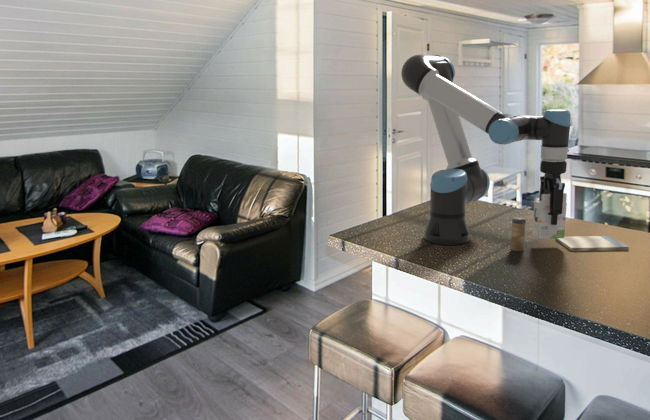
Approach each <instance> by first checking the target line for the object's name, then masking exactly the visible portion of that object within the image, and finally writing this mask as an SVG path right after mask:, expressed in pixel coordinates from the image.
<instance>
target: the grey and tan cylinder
mask: <svg viewBox="0 0 650 420" xmlns="http://www.w3.org/2000/svg"><path fill="white" fill-rule="evenodd" d="M511 221H512V222H511V234H510V247H509V248H510V250H511V251H514V252H522V251H524V249H525V236H526V235H525V234H526V221H527V219H526V218H524V217H512V220H511Z"/></svg>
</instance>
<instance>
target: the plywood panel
mask: <svg viewBox="0 0 650 420" xmlns="http://www.w3.org/2000/svg"><path fill="white" fill-rule="evenodd" d="M554 240H555V241H556V242H558V243H559V244H560V245H562V246H563V247H565V248H566V249H567V250H569V251H570V252H584V251H585V252H587V251H591V252H592V251H593V252H594V251H597V252H598V251H629V248H630V246H629V245H627V244H624V243H623V242H621V241H620V240H617V239H616V238H614V237H613V236H610V235H589V236H588V235H586V236H585V235H583V236H581V235H578V236H576V235H575V236H568V235H567V236H564V238H554Z"/></svg>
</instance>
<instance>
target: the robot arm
mask: <svg viewBox="0 0 650 420" xmlns="http://www.w3.org/2000/svg"><path fill="white" fill-rule="evenodd" d="M400 75H401V78H402V81H403V82H402V83H404V85H405V86H406V87H407V88H408V89H410V90H411V91H413V92H414V93H416V94H418V95H419V96H421V98H422V99H423V100H425V101H427V102H428V105H429V108H430V111H431V114H432V118H433V121H434V124H435V128H436V131H437V133H438V136H439V140H440V142H441V147H442V149H443V152H444V155H445V159H446V162H447V165H446V168H445V169H440V170H437V171H435V172H434V173H433V174H432V175H431V177H430V178H431V179H430V181H431V182H430V185H429V186H430V205H429V219H428V221H427V223H426V227H425V230H424V234H423V238H424V240H425V241H427V242H429V243H431V244H435V245H442V246H458V245H463V244H466V243H468V242H469V241H470V230H469V227H468V223H467V221H466V207H467V206H466V205H467V204H469V203H472V202H473V203H474V202H476V201H478V200H480V199H481V198H483V197H484V196H485V195H486V194H487V193H488V191H489V190H490V189H489V188H490V185H491V184H490V182H491V181H490V176H489V174H488V173H487V171H486V170H485V169H483V168H482V167H480V164H479V160H478V159H476V158H475V157H473V156H472V152H471V150H470V149H471V148H470V147H469V143H468V140H467V137H466V133H465V131H464V128H463V125H462V122H461V118H462V119H464V120H465V121H467V122H469V123H470V124H472V125H474V127H477V128H478V129H480V130H481V131H483V132H485V133H486V134H488V137H489V138H490V140H491V141H492V142H493V143H494V144H497V145H509V144H510V145H511V144H512V143H516V142H519V141H520V142H521V141H525V140H528V141H541V151H540V159H541V161H540V167H539V170H540V172H541V173H543V174H544V175H540V176H539V177H540V178H539V179H540V186H539V197H538V199H539V200H538V201H541V196H542V194H550V213H548V227H547V234H557V223H558V215H559V214H562V207H563V194H564V193H565V192H564V191H565V187H566V183H565V182H562V176H561V175H562V174H565V173H566V172H567V164H568V161H566V160H567V159H568V154H569V153H568V152H569V151H570V150H569V140H570V131H571V130H570V129H571V112H570V110H568V109H546V110H544V113H543V115H520V114H517V115H507V114H506V113H503V112H501V111H500V110H499V109H498V108H495V107H494V106H492V105H491V104H490V103H489V104H488V103H487V102H485V101H483V100H482V99H480V98H478V97H477V96H476V95H474V94H472V93H470V92H468V91H467V90H465V89H463V88H461V87H460V86H458V85H457V84H455V83H454V82H453V81H454V78H455V76H456V72H455V67H454V64H453V62H452V61H451V60H450V59H449V58H448V57H445V56H442V55H439V54H431V55H429V54H427V55H426V54H416V55H412V56H411V57H409V58H407V59H406V61H405V62H404V63H403V66H402V68H401V74H400Z"/></svg>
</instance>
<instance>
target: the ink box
mask: <svg viewBox="0 0 650 420" xmlns="http://www.w3.org/2000/svg"><path fill="white" fill-rule="evenodd" d="M548 213H550V194H542V196H541V201H539V200H534V203H533V218H532V221H533V222H532V232H531V234H532V236H533V237H535V238H536V239H539V240H544V239H545V240H546V239H555V238H564V237H565V231H566V220H567V219H566V216H567V193H566V192H564V194H563V207H562V214H559V215H558V223H557V234H547V227H548Z"/></svg>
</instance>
